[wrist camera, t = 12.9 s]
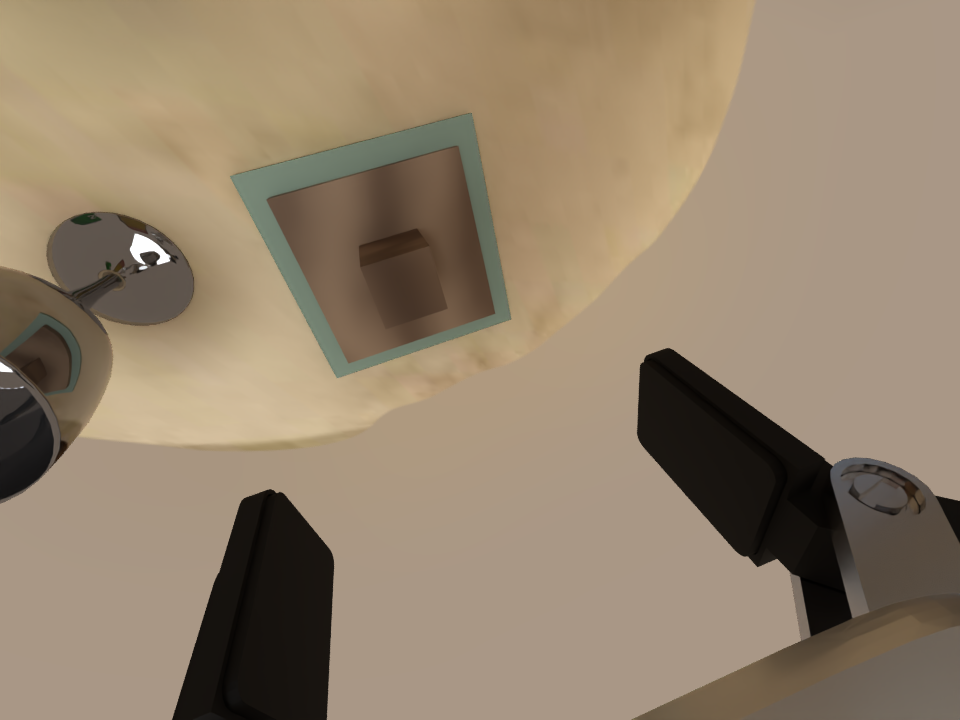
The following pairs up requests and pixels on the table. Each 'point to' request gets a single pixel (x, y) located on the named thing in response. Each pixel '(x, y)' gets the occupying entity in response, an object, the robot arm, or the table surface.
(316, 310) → the mat
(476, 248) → the glass cover
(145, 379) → the table surface
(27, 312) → the wine glass
